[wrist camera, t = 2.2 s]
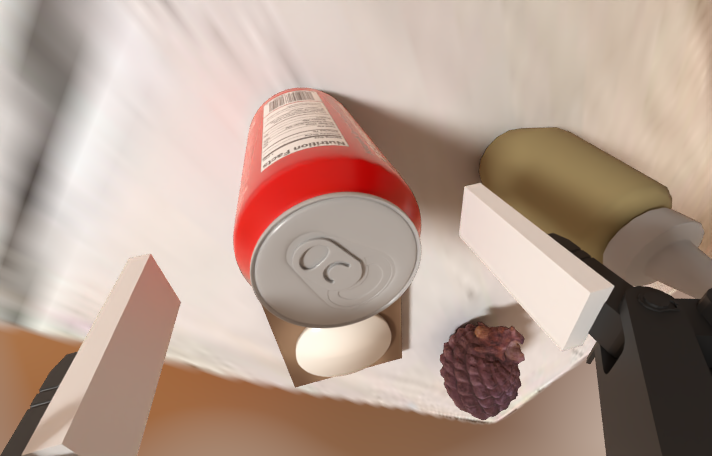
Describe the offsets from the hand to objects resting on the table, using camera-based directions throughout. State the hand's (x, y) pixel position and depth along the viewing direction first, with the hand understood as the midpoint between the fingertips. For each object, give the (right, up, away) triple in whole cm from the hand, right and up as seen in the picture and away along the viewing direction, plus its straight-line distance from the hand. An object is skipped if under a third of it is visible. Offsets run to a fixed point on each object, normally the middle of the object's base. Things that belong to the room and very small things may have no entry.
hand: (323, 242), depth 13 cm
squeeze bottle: (+15, +7, +16) cm, 23 cm away
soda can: (-3, +7, +10) cm, 13 cm away
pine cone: (+16, -15, +31) cm, 38 cm away
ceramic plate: (0, -13, +23) cm, 26 cm away
